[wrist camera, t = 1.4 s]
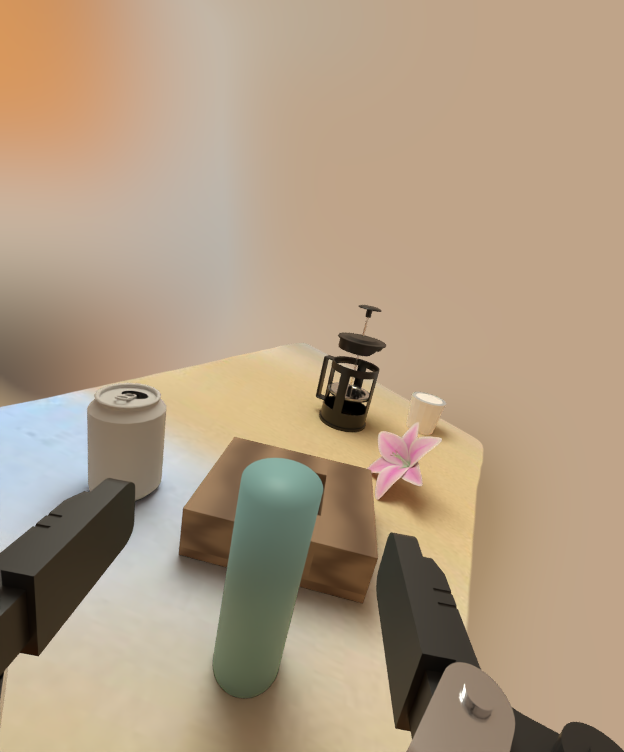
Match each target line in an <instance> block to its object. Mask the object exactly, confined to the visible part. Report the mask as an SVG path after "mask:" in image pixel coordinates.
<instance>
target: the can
mask: <svg viewBox="0 0 624 752" xmlns="http://www.w3.org/2000/svg"><path fill="white" fill-rule="evenodd" d="M94 396H95V399H94V400H93V401H92V402H91V403H90V404H89V406H88V408H87V424H88V486H89V491H90V492H91V491H92V490H93V489H94V488H95V487H97V486H98V485H99V484H100V483H101V482H102V481H104V480H105V479H107V478H113V479H118V480H123V481H129V482H133V483H134V484H135V501H137V500H139V499H141V498H143V497H145V496H146V495H148V494H150V493H151V492H152V491H154V490H155V489H156V488H157V487H158V486H159V484H160V483H161V478H162V464H163V449H164V435H165V420H166V404H165V403H164V401H163V400H162V399H161V393H160V392H159V391H158V390H157V389H155V388H154V387H151V386H148V385H144V384H138V383H118V384H112V385H108V386H105V387H103V388H101V389H99V390H98V391H97V392H96V393H95V395H94Z"/></svg>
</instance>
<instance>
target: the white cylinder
mask: <svg viewBox="0 0 624 752" xmlns="http://www.w3.org/2000/svg"><path fill="white" fill-rule="evenodd" d="M445 406H446V402H445V401H444V400H442V399H441V398H439V397H437V396H434V395H431V394H428V393H424V392H414V393H413V394H412V399H411V403H410V408H409V413H408V417H407V422H406V426H407V427H408V428H410V427H411V426H412V425H414V424H415V423H416V422H418V423H419V427H418V433H420V434H424V435H430V434H432V433H433V431H434V429H435V427H436V425H437V423H438V420H439V418H440V416H441V414H442V412H443V410H444V408H445Z"/></svg>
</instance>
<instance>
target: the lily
mask: <svg viewBox="0 0 624 752" xmlns="http://www.w3.org/2000/svg"><path fill="white" fill-rule="evenodd" d="M418 427H419V423H418V422H416V423H415V424H414V425H412V426H411V427H410V428H409V429H408V430H407V431H406V433H405V434H404V435H403V436H402V438H401V437H400V436H398V435H396V434H393V433H390V432H386V431H381V432H380V433H379V434H378V447H379V452H380V454H381V457H380V458H378V459H377V460H376V461H374V462H373V463H372V464H371V465H370V466H369V467H368V468H367V469H369V470H371V472H372V473H379V475H378V478H377V482H376V490H375V497H376V499H377V500H378V499H380V498H381V497H382V496H383V495H384V493H385V492H386V491H387V490H388V489H389V488H390V487H391V486H392V485H393V484H394V483H395V482H396V481H397V480H398V479H399V478H400V477H401V478H402V479H404V480H405V481H407V482H410V483H412V484H414V485H417V486H422V484H423V483H422V476H421V471H420V467H419V464H418V461H419V460H420V459H421V458H422V457H423V456H424V455H425V454H427V453H428V452H429V451H430V450H432V449H433V448H434V447H436V446H437V445H438V444H439V443H440V442H441V441H442V439H441V438H439V437H419V438H417V437H418Z"/></svg>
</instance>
